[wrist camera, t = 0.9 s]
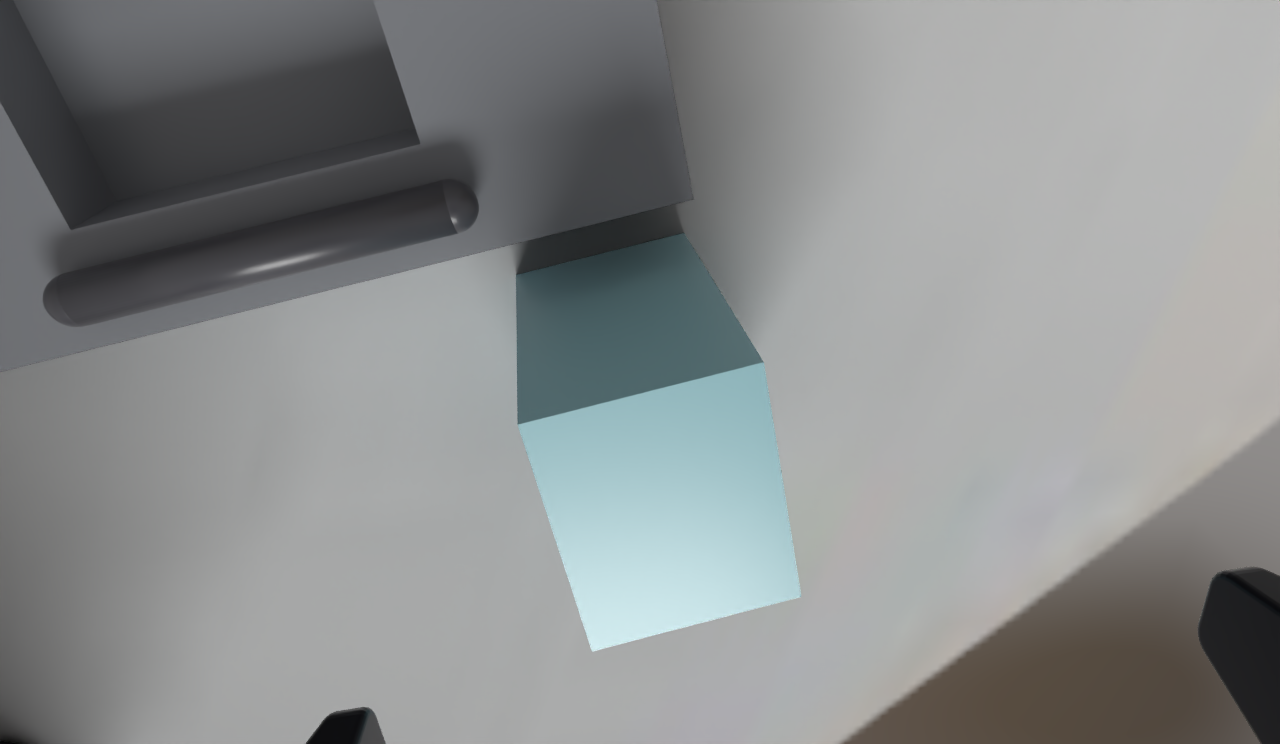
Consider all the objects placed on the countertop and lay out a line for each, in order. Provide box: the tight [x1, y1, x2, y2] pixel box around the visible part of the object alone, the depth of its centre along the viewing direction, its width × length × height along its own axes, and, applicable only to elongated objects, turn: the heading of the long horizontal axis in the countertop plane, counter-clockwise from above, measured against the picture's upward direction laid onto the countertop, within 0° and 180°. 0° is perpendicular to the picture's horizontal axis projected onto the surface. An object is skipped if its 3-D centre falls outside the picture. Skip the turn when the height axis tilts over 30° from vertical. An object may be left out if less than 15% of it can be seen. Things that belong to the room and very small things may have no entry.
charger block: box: [516, 233, 801, 651], centre depth 18 cm, size 4×5×7 cm
